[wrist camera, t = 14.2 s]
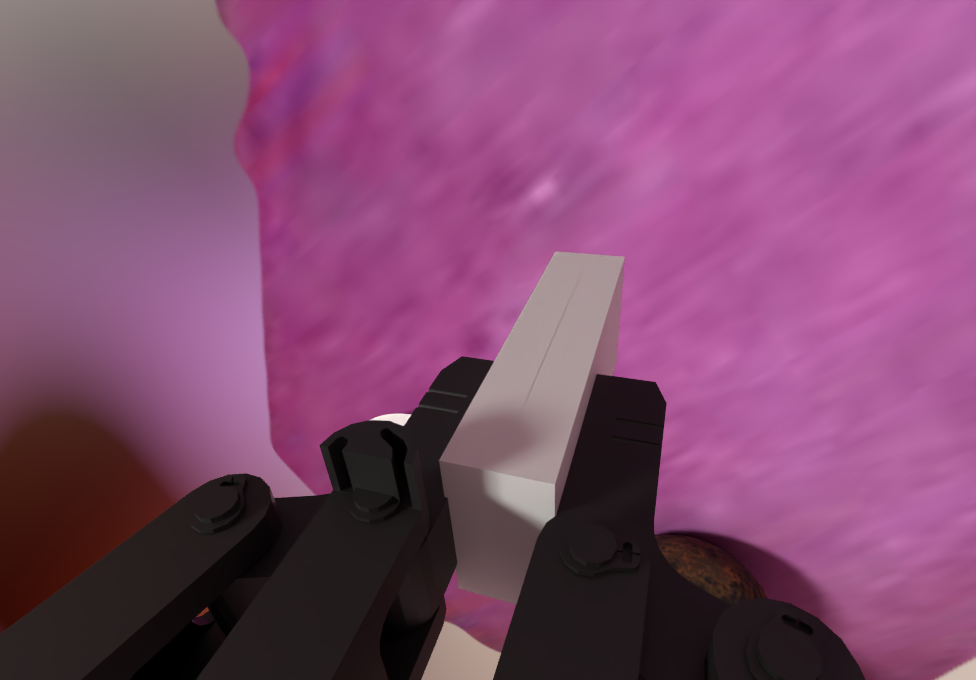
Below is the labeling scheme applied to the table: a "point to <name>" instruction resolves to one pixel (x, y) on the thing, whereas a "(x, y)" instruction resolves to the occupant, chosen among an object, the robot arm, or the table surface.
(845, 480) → the table surface
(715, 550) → the dark brown vase
